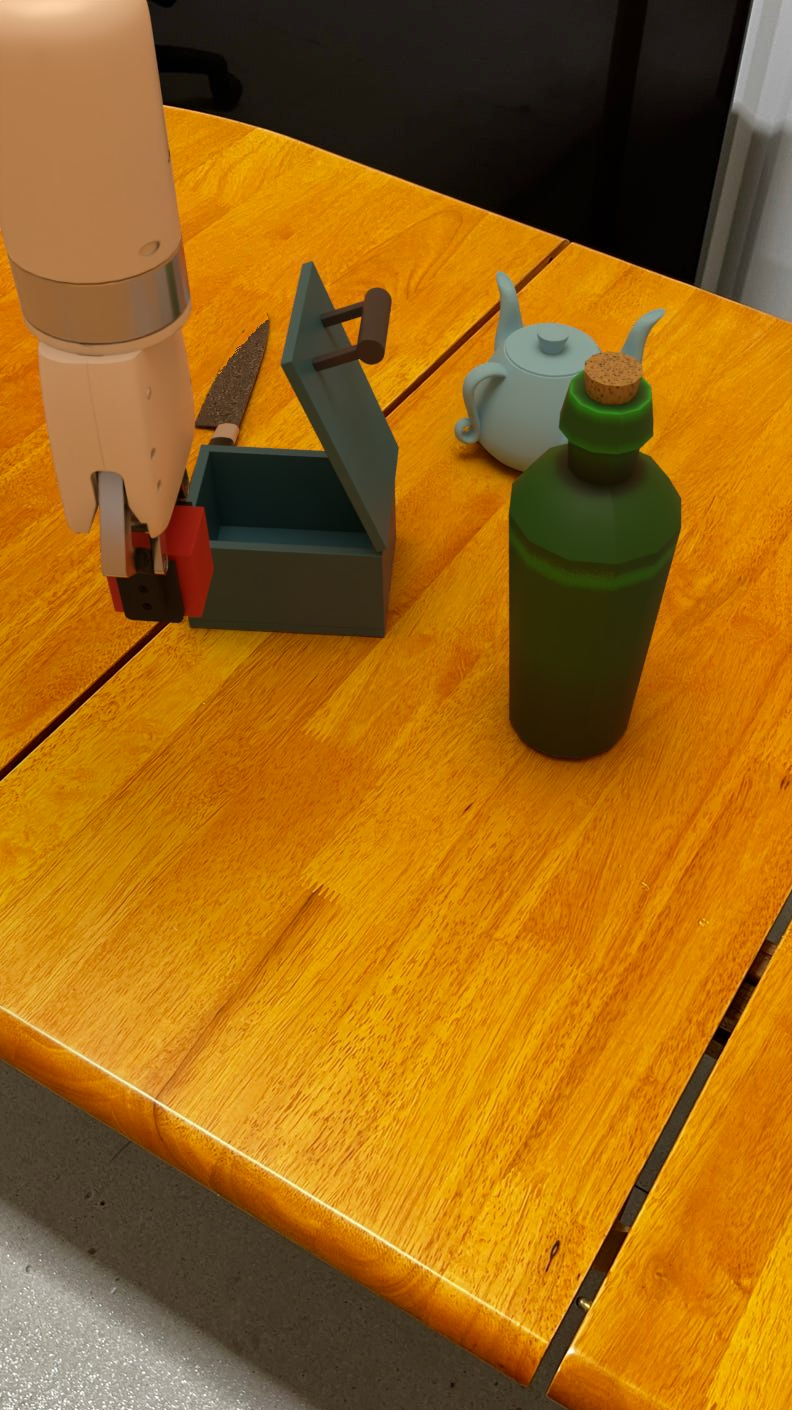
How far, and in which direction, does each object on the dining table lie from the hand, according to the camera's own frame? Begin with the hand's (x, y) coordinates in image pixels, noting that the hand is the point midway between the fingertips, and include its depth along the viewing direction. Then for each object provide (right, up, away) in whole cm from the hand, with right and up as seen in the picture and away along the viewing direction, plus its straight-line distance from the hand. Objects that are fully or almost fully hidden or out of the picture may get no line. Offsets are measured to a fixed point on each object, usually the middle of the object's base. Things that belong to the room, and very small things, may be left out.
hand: (163, 585), depth 73 cm
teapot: (+24, +21, +41) cm, 52 cm away
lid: (+8, +15, +16) cm, 24 cm away
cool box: (+3, +6, +28) cm, 29 cm away
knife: (-5, +23, +41) cm, 47 cm away
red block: (0, 0, 0) cm, 0 cm away
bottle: (+24, -5, +21) cm, 32 cm away
